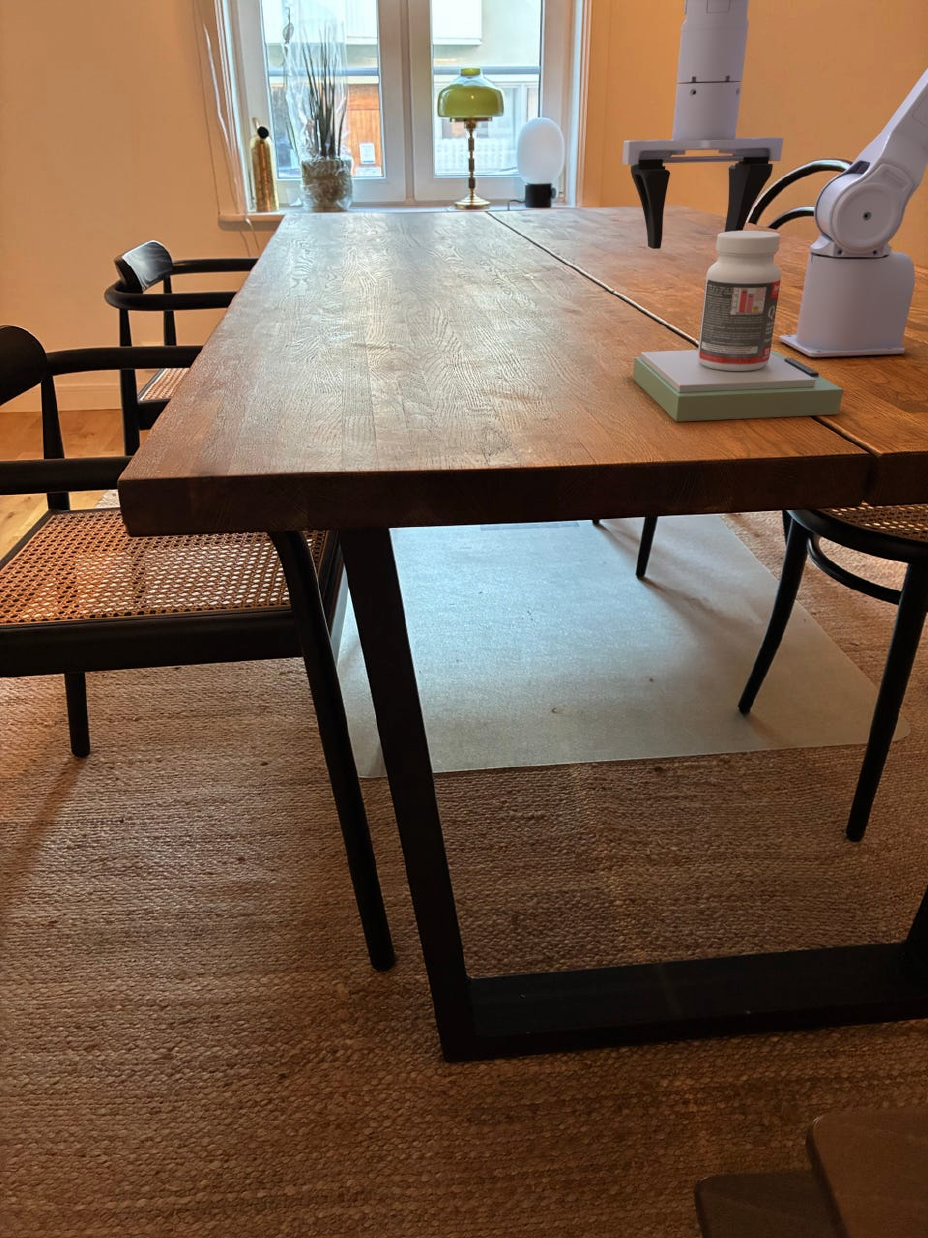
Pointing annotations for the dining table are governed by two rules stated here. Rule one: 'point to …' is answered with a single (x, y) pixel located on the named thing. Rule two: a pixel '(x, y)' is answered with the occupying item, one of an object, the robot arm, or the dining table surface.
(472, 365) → the dining table surface
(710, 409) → the scale
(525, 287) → the dining table surface
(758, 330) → the pill bottle
